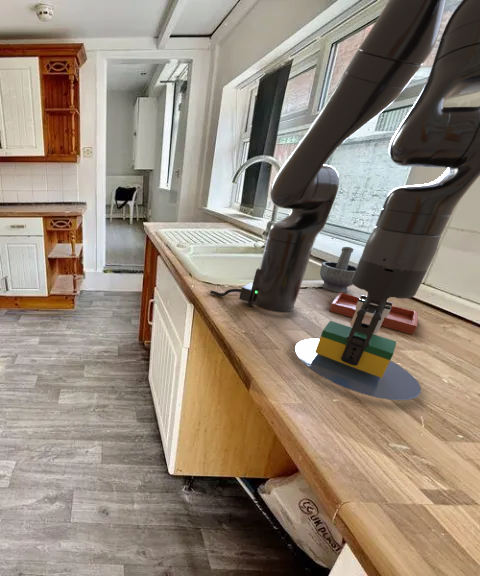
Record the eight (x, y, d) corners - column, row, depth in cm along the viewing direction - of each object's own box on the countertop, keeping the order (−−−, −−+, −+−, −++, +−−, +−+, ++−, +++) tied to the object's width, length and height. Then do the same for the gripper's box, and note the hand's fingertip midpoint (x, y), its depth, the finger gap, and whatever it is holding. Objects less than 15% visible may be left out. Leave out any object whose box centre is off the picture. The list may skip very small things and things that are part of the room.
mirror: (280, 367, 53) (282, 361, 52) (305, 334, 64) (307, 329, 64) (417, 425, 42) (421, 418, 41) (418, 373, 53) (421, 367, 53)
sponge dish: (329, 310, 76) (331, 303, 75) (337, 299, 83) (340, 292, 83) (413, 334, 66) (417, 326, 65) (413, 319, 74) (417, 311, 73)
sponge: (314, 352, 53) (322, 330, 52) (322, 341, 57) (330, 320, 55) (381, 378, 48) (393, 353, 46) (385, 364, 51) (396, 341, 49)
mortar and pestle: (353, 297, 85) (369, 256, 81) (313, 288, 91) (326, 249, 86) (353, 287, 93) (368, 248, 89) (317, 279, 99) (329, 242, 94)
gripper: (368, 248, 53) (334, 333, 59) (353, 262, 43) (315, 361, 50) (429, 258, 48) (385, 350, 54) (428, 277, 38) (374, 385, 45)
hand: (351, 355), depth 52 cm, fingers closed on sponge, 5 cm apart
